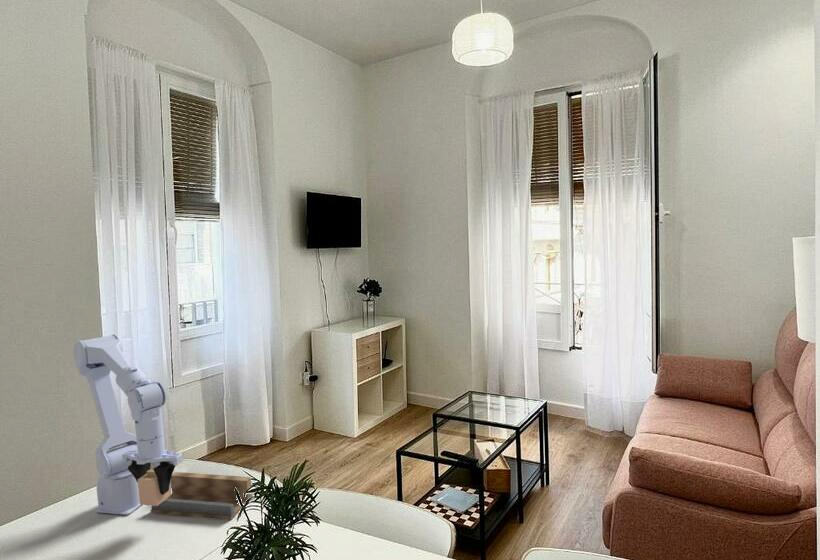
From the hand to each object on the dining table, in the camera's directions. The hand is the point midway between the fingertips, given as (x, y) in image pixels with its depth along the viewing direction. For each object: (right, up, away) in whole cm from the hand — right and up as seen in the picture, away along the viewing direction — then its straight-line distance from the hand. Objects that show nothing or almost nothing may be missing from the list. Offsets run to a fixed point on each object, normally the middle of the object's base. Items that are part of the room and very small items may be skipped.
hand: (155, 491), depth 121 cm
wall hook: (-7, -7, +22) cm, 25 cm away
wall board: (+7, -8, +9) cm, 14 cm away
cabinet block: (0, -2, 0) cm, 2 cm away
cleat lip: (+6, -7, +5) cm, 11 cm away
